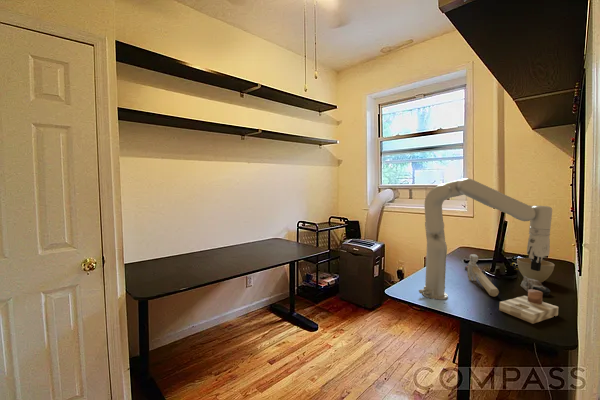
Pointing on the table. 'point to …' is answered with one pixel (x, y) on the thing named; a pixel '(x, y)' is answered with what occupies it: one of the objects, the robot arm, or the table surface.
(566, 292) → the table surface
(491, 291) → the hammer
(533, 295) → the peg
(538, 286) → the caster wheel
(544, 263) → the white bowl
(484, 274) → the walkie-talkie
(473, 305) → the table surface
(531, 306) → the board
